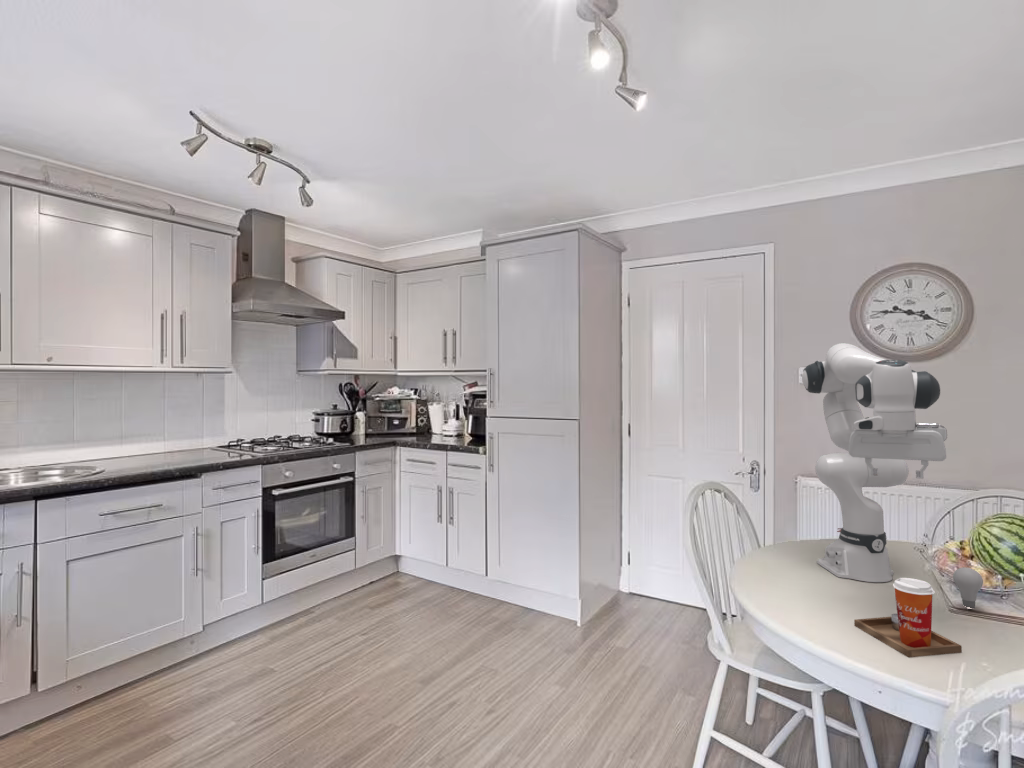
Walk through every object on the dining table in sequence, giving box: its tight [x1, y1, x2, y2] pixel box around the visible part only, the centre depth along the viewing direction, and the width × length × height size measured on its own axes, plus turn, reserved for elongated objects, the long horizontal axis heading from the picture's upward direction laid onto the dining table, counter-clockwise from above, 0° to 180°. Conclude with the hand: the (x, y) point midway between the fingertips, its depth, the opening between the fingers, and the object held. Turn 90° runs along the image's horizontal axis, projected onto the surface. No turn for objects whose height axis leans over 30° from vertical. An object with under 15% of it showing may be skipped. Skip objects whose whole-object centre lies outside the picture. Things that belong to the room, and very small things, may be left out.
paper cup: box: [892, 577, 936, 648], centre depth 123 cm, size 8×8×14 cm
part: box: [890, 613, 899, 631], centre depth 130 cm, size 4×4×3 cm
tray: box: [853, 616, 963, 658], centre depth 126 cm, size 16×13×2 cm
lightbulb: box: [952, 566, 984, 609], centre depth 142 cm, size 6×6×11 cm
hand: (896, 476), depth 136 cm, fingers open, 8 cm apart
